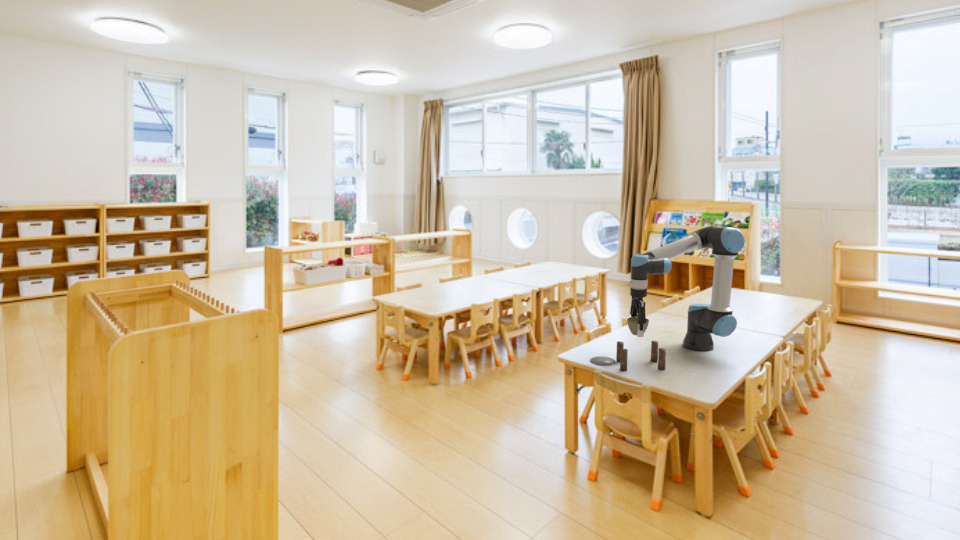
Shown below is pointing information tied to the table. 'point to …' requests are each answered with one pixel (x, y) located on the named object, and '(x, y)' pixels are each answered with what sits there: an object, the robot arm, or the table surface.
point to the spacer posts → (661, 358)
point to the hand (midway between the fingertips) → (636, 333)
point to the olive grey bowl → (635, 324)
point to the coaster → (603, 361)
